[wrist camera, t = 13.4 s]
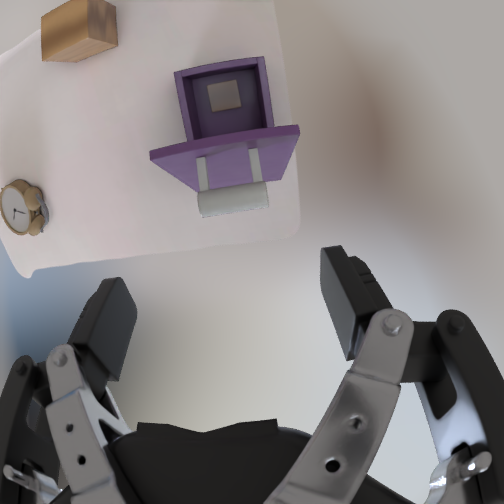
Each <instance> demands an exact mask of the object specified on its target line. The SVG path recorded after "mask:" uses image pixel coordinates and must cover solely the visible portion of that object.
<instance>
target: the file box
mask: <svg viewBox="0 0 504 504" xmlns="http://www.w3.org/2000/svg"><path fill="white" fill-rule="evenodd" d="M174 77H175V82H176V88H177V93H178V98H179V103H180V108H181V113H182V118H183V123H184V128H185V132H186V137H187V142H188V141H193V140H197V139H202V138H207V137H212V136H218V135H223V134H229V133H235V132H241V131H248V130H255V129H262V128H270V127H274V121H273V114H272V106H271V99H270V92H269V86H268V79H267V72H266V66H265V60H264V56H262V57H252V58H244V59H237V60H230V61H224V62H219V63H213V64H208V65H203V66H198V67H194V68H189V69H185V70H181V71H177V72H174ZM230 80H237V84H238V89H239V95H240V100H241V105H242V107H239V108H234V109H228V110H223V111H218V112H213V113H212V111H211V106H210V101H209V96H208V91H207V85H210V84H215V83H220V82H225V81H230Z"/></svg>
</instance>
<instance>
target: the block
mask: <svg viewBox="0 0 504 504" xmlns="http://www.w3.org/2000/svg"><path fill="white" fill-rule="evenodd" d="M207 91H208V96H209V101H210V106H211V111H212V113H213V112H218V111H223V110H228V109H234V108H239V107H242V105H241V100H240V95H239V89H238V84H237V80H230V81H225V82H220V83H215V84H210V85H207Z"/></svg>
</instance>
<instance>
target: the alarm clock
mask: <svg viewBox="0 0 504 504" xmlns="http://www.w3.org/2000/svg"><path fill="white" fill-rule="evenodd" d="M1 189H2V191H1V193H0V211H1V215H2V217H3V219H4V222H5V223H6V225H7V226H8V228H9V229H10V230H11V231H12V232H14V233H16V234H17V235H25V234H27V233H29V234H30V235H32V236H35V235H38V234H39V233H40V232H43V227H44V226H46V225H47V223H48V220H49V213H48V209H47V206H46V204H45V203H44V201H43V200H42V194H41V192H40V190H39V189H38V188H36V187H30V186H29V185H28V184H27V183H26V182H24V181H22V180H15V181H14V182H12V183H11V184H9V185H7V186H5V187H4V188H1ZM40 206H42V207H43V209H44V213H45V221H44V217H43V216H42V215H40V209H39V207H40ZM44 223H45V224H44Z"/></svg>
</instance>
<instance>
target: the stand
mask: <svg viewBox="0 0 504 504" xmlns="http://www.w3.org/2000/svg"><path fill="white" fill-rule="evenodd" d="M116 46H118V41H117V27H116V7H115V6H113V5H112V4H110V3H108V2H106V1H104V0H70V1H68V2H66V3H64V4H62V5H61V6H59V7H57V8H55V9H54V10H52V11H50V12H49V13H47V14H45V15H44V16H42V17H41V49H42V61H57V62H79V61H81V60H83V59H85V58H88V57H90V56H92V55H95V54H97V53H100V52H102V51H105V50H108V49H110V48H113V47H116Z"/></svg>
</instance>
